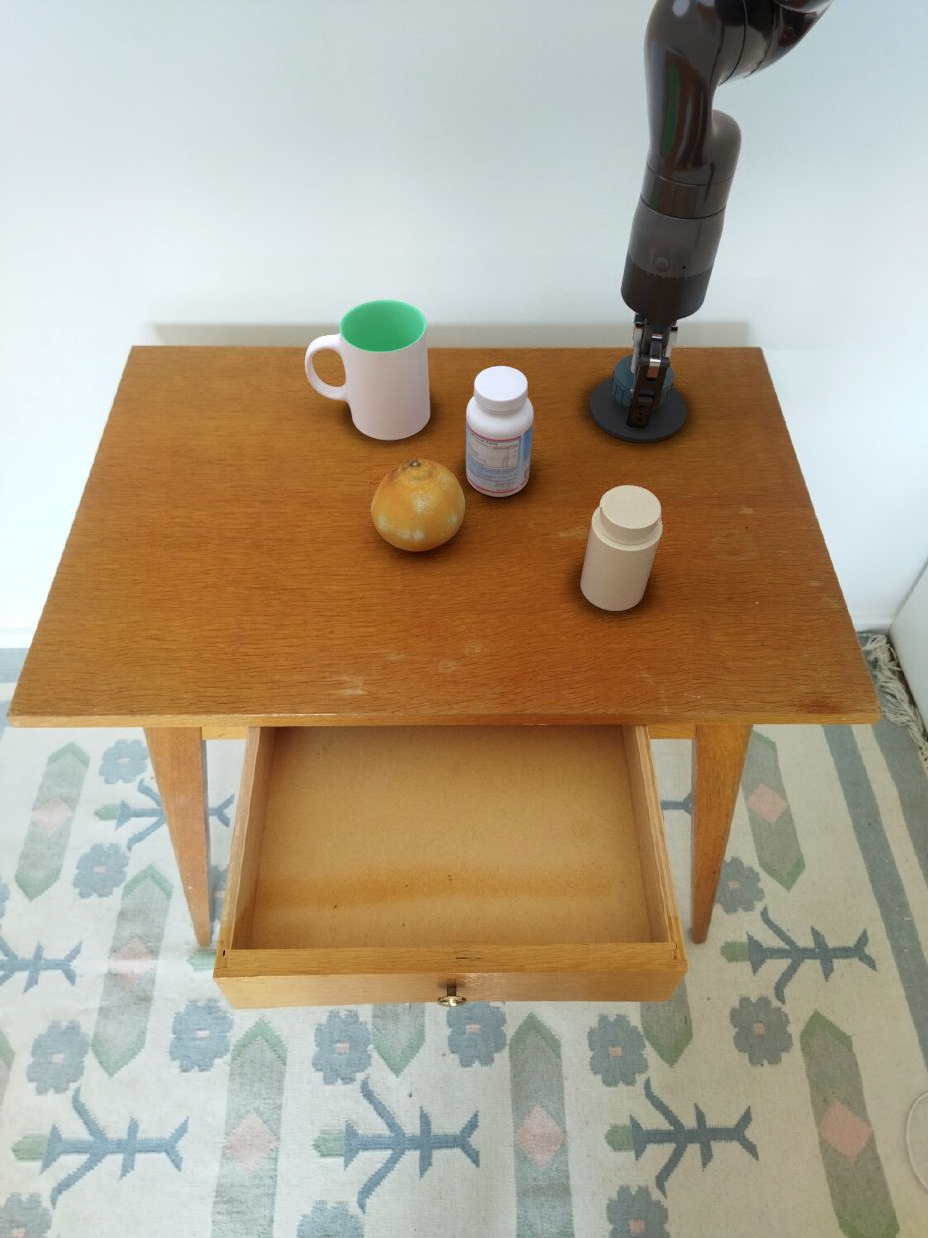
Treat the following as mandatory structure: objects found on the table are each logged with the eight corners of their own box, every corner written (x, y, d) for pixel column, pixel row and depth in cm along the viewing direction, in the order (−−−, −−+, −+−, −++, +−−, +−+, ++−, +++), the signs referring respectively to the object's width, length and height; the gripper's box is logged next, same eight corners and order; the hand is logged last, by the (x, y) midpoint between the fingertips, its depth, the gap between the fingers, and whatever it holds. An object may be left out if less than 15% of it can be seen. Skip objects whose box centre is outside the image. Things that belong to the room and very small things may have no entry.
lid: (617, 366, 85) (620, 347, 83) (674, 378, 84) (679, 360, 82) (604, 402, 82) (607, 383, 80) (664, 415, 81) (669, 397, 79)
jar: (646, 565, 73) (668, 484, 65) (643, 615, 70) (666, 537, 62) (583, 556, 73) (597, 476, 65) (577, 606, 70) (592, 528, 62)
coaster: (686, 383, 87) (687, 379, 87) (686, 448, 82) (687, 443, 81) (592, 374, 88) (593, 369, 88) (585, 437, 83) (586, 432, 82)
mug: (310, 441, 82) (292, 354, 74) (316, 389, 87) (300, 301, 78) (430, 439, 82) (426, 351, 74) (430, 386, 87) (426, 298, 79)
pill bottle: (496, 446, 82) (500, 350, 73) (541, 477, 79) (551, 382, 70) (452, 476, 79) (451, 381, 70) (497, 509, 77) (502, 415, 68)
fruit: (397, 461, 77) (382, 435, 69) (480, 485, 76) (473, 462, 68) (370, 543, 77) (351, 527, 69) (452, 569, 76) (442, 556, 68)
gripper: (717, 301, 66) (673, 456, 80) (715, 209, 74) (675, 364, 88) (624, 293, 67) (596, 448, 81) (631, 202, 75) (605, 356, 89)
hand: (638, 403), depth 84 cm, fingers closed on lid, 5 cm apart
